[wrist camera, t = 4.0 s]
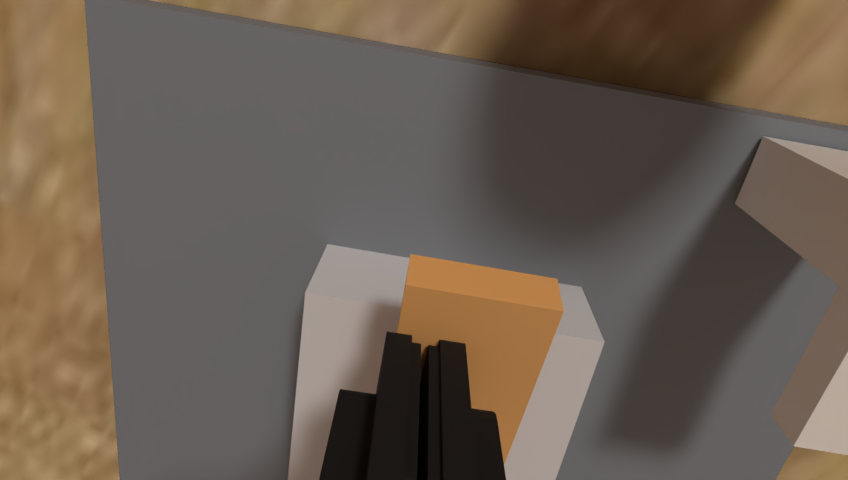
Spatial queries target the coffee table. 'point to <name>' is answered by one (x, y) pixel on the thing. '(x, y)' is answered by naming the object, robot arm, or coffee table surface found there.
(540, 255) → the board
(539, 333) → the strap
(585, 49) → the coffee table surface
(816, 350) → the block
